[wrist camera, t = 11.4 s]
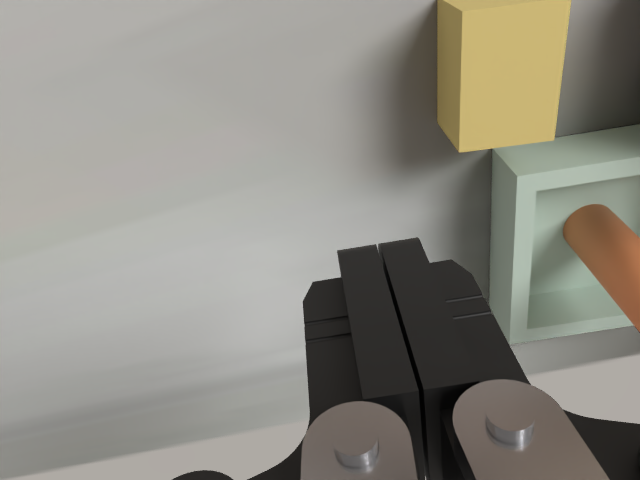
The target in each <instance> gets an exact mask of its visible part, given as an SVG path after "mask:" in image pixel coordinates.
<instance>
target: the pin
mask: <svg viewBox="0 0 640 480" xmlns="http://www.w3.org/2000/svg"><path fill="white" fill-rule="evenodd" d="M563 236H564V239H565V240H566V242H567V243H568V244H569V246H570V247H571V248H572V249H573V250H574V252H575V253H576V254H577V255H578V257H579V258H580V259H581V260H582V262H583V263H584V264H585V265H586V267H587V268H588V269H589V270H590V271H591V273H592V274H593V275H594V276H595V278H596V279H597V280H598V281H599V283H600V284H601V285H602V286H603V288H604V289H605V290H606V291H607V293H608V294H609V295H610V296H611V297H612V299H613V300H614V301H615V302H616V304H617V305H618V306H619V307H620V309H621V310H622V311H623V312H624V314H625V315H626V316H627V317H628V319H629V320H630V321H631V322H632V323H633V325H634V326H635V327H636V328H637V330H638V331H639V332H640V238H639V237H638V236H637V235H636V234H635V233H634V232H633V231H632V230H631V229H630V228H629V227H628V226H627V225H626V224H625V223H624V222H623V221H622V220H621V219H620V218H619V217H618V216H617V215H616V214H615V213H613V212H612V211H611V210H610V209H609V208H608V207H606V206H604V205H601V204H590V205H586V206H584V207H581V208H579V209H578V210H576V211H575V212H573V213H572V214H571V215H570V216H569V218H568V219H567V220H566V222H565V224H564V227H563Z"/></svg>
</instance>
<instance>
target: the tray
mask: <svg viewBox="0 0 640 480" xmlns="http://www.w3.org/2000/svg"><path fill="white" fill-rule="evenodd" d="M590 204H601V205H604V206H606V207H608V208H609V209H610V210H611V211H612V212H613V213H615V214H616V215H617V216H618V217H619V218H620V219H621V220H622V221H623V222H624V223H625V224H626V225H627V226H628V227H629V228H630V229H631V230H632V231H633V232H634V233H635V234H636V235H637V236H638V237H639V238H640V124H637V125H631V126H625V127H618V128H612V129H606V130H600V131H594V132H588V133H581V134H575V135H569V136H563V137H557V138H554V141H546V142H538V143H531V144H523V145H515V146H507V147H500V148H492V188H491V237H490V286H489V307H490V308H491V310H492V312H493V314H494V316H495V318H496V320H497V322H498V324H499V326H500V328H501V329H502V331H503V333H504V335H505V337H506V339H507V341H508V343H509V345H510V344H516V343H523V342H529V341H536V340H542V339H549V338H555V337H562V336H569V335H575V334H582V333H588V332H595V331H601V330H608V329H615V328H621V327H628V326H634V325H633V323H632V322H631V321H630V320H629V319H628V317H627V316H626V315H625V314H624V312H623V311H622V310H621V309H620V307H619V306H618V305H617V304H616V302H615V301H614V300H613V299H612V297H611V296H610V295H609V294H608V293H607V291H606V290H605V289H604V288H603V286H602V285H601V284H600V283H599V281H598V280H597V279H596V278H595V276H594V275H593V274H592V273H591V271H590V270H589V269H588V268H587V267H586V265H585V264H584V263H583V262H582V260H581V259H580V258H579V257H578V255H577V254H576V253H575V252H574V250H573V249H572V248H571V247H570V246H569V244H568V243H567V242H566V240H565V239H564V236H563V227H564V224H565V222H566V220H567V219H568V218H569V216H570V215H571V214H572V213H573V212H575V211H576V210H578V209H579V208H581V207H584V206H586V205H590Z"/></svg>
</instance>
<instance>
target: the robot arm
mask: <svg viewBox="0 0 640 480" xmlns="http://www.w3.org/2000/svg"><path fill="white" fill-rule="evenodd" d="M378 251H379V253H378ZM337 253H338V260H339V266H340V272H341V278H334V279H328V280H322V281H316V282H313V283H312V285H311V287H310V289H309V291H308V293H307V295H306V297H305V298H304V300H303V311H304V324H305V341H306V358H307V374H308V390H309V406H310V421H309V425H308V429H307V432H306V434H305V436H304V438H303V440H302V441H301V443H300V444H299V446H298V447H297V448H296V449H295V451H294V452H293V453H292V454H291V455H290V456H289V457H288V458H286V459H285V460H284V461H282V462H281V463H279V464H278V465H276V466H274V467H273V468H271V469H269V470H267V471H265V472H263V473H261V474H258V475H257V476H254V477H252V478H250V479H248V480H425V476H426V480H640V424H634V423H626V422H617V421H608V420H601V419H594V418H588V417H583V416H580V415H576V414H573V413H571V412H568V411H565V410H563V409H562V408H561V407H560V406H559V404H558V403H557V402H556V401H555V400H554V399H553V398H552V397H551V396H549V395H548V394H546V393H545V392H543V391H542V390H540V389H538V388H536V387H534V386H531V384H530V383H529V381H528V380H527V378H526V376H525V374H524V372H523V370H522V368H521V367H520V365H519V363H518V361H517V359H516V357H515V355H514V353H513V351H512V349H511V348H510V346H509V344H508V342H507V340H506V338H505V336H504V334H503V332H502V331H501V329H500V327H499V325H498V323H497V321H496V319H495V317H494V315H492V314H491V310H490V308H489V306H488V304H487V302H486V300H485V298H483V296H482V293H481V291H480V289H479V287H478V285H477V283H476V281H475V279H474V278H473V276H472V274H471V273H469V272H468V271H466V270H465V269H464V268H462V267H461V266H460V265H458V264H457V263H455V262H454V261H453V260H446V261H440V262H434V263H429V261H428V258H427V256H426V254H425V251H424V249H423V247H422V244H421V242H420V240H419V238H411V239H405V240H399V241H393V242H387V243H380V244H379V245H378V249H377V246H376V244H375V245H369V246H363V247H356V248H350V249H344V250H338V251H337ZM173 480H233V479H231V478H230V477H229V476H227V475H225V474H223V473H220V472H216V471H207V470H203V471H194V472H190V473H187V474H183V475H181V476H179V477H176V478H174V479H173Z"/></svg>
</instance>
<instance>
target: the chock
mask: <svg viewBox="0 0 640 480" xmlns="http://www.w3.org/2000/svg"><path fill="white" fill-rule="evenodd" d="M570 7H571V0H437V123H438V124H439V126H440V127H441V128H442V130H443V131H444V133H445V134H446V135H447V137H448V138H449V139H450V141H451V142H452V144H453V145H454V146H455V148H456V149H457V151H458V152H459V153H461V152H468V151H476V150H484V149H492V148H500V147H507V146H515V145H523V144H531V143H538V142H546V141H554V138H555V130H556V122H557V113H558V105H559V97H560V89H561V81H562V72H563V64H564V56H565V48H566V39H567V31H568V23H569V15H570Z"/></svg>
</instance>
